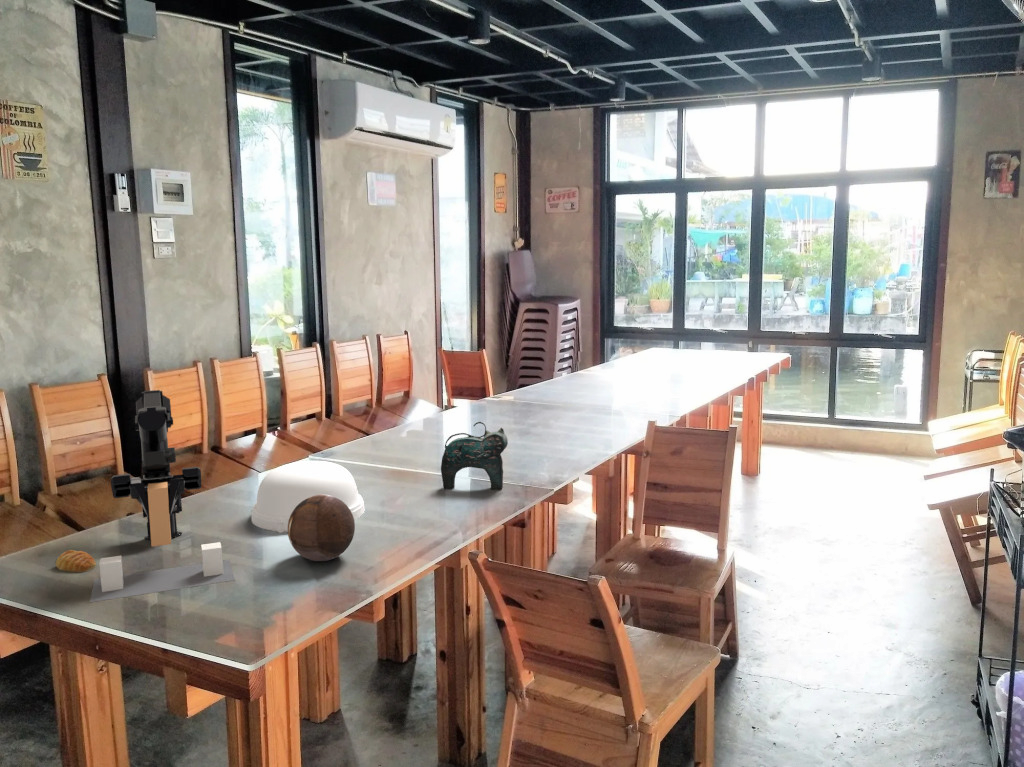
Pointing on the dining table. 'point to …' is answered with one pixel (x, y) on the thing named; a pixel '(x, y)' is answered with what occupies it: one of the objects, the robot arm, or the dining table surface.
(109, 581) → the white paddle
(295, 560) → the dining table surface
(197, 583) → the charcoal mat
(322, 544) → the wooden sphere
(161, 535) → the tan wooden plank
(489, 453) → the ceramic cat
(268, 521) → the dome cover
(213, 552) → the white paddle
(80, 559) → the pastry
